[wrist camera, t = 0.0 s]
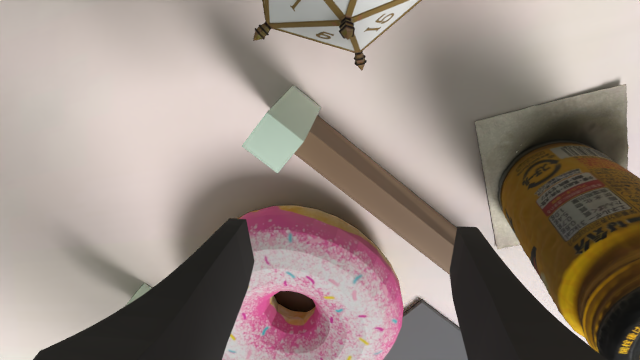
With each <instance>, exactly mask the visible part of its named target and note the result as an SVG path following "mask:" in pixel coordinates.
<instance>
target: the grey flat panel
mask: <svg viewBox="0 0 640 360" xmlns="http://www.w3.org/2000/svg"><path fill="white" fill-rule="evenodd" d="M383 360H468V358H467V354H466V350H465V346H464V342H463V338H462V334H461V330H460V328H459V327H457V326H456V325H455V324H453V323H452V322H451V321H449V320H448V319H447V318H445V317H444V316H443V315H441V314H440V313H439V312H437V311H436V310H435V309H433V308H432V307H431V306H429V305H428V304H427V303H426V302H424V301H423V300H420V301H419V302H418V303H417V304H415V305H414V306H413V307H411V308H410V309H409V310H408V311H406V312H405V313H404V314H403V318H402V327H401V329H400V331H399V334H398V336H397V338H396V341H395V343H394V345H393V346H392V348H391V349H390V351H389V352H388V354H387V355H386V356H385V358H384V359H383Z"/></svg>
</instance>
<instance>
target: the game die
mask: <svg viewBox="0 0 640 360" xmlns="http://www.w3.org/2000/svg"><path fill="white" fill-rule="evenodd" d="M262 1H263V8H264V14H265V20H266V22H265V24H262V25H259V27H258V28H257V29H256V28H255V35H254V40H259V39H265V38H264V37H265V36H266V35H269V34H268V32H269V31H270V29H275V30H279V31H282V32H286V33H289V34H292V35H296V36H299V37H303V38H306V39H309V40H313V41H316V42H319V43H323V44H326V45H330V46H333V47H336V48H340V49H343V50H347V51H350V52H353V53H355V58H354V59H355V65H357V66H358V67H359V68H360V69H361V70H363V67H364V64H365V63H366V62H367V61H366V60H365V55H363V53H362V51H363V50H364V49H365V48H366V47H367V46H369V45H370V44H371V43H372V42H373V41H374V40H376V39H377V38H378V37H379V36H380V35H382V34H383V33H384V32H385V31H386V30H387V29H389V28H390V27H391V26H392V25H393V24H394V23H396V22H397V21H398V20H399V19H400V18H402V17H403V16H404V15H405V14H406V13H407V12H409V11H410V10H411V9H412V8H413V7H414V6H416V5H417V4H418V3H419V2H420V1H421V0H262ZM254 40H253V41H254Z"/></svg>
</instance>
